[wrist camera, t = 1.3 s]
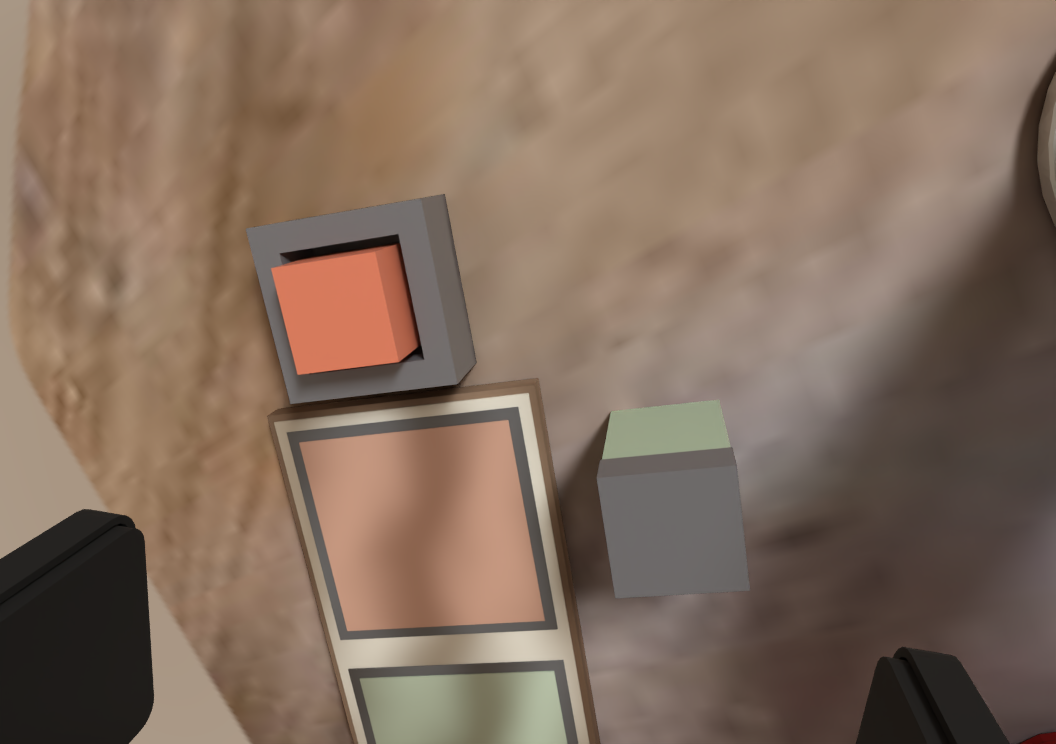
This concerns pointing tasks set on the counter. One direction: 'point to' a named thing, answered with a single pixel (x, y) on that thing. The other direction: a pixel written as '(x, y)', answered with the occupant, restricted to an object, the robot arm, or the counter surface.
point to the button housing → (429, 281)
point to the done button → (347, 309)
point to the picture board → (440, 565)
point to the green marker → (672, 502)
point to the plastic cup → (1042, 739)
